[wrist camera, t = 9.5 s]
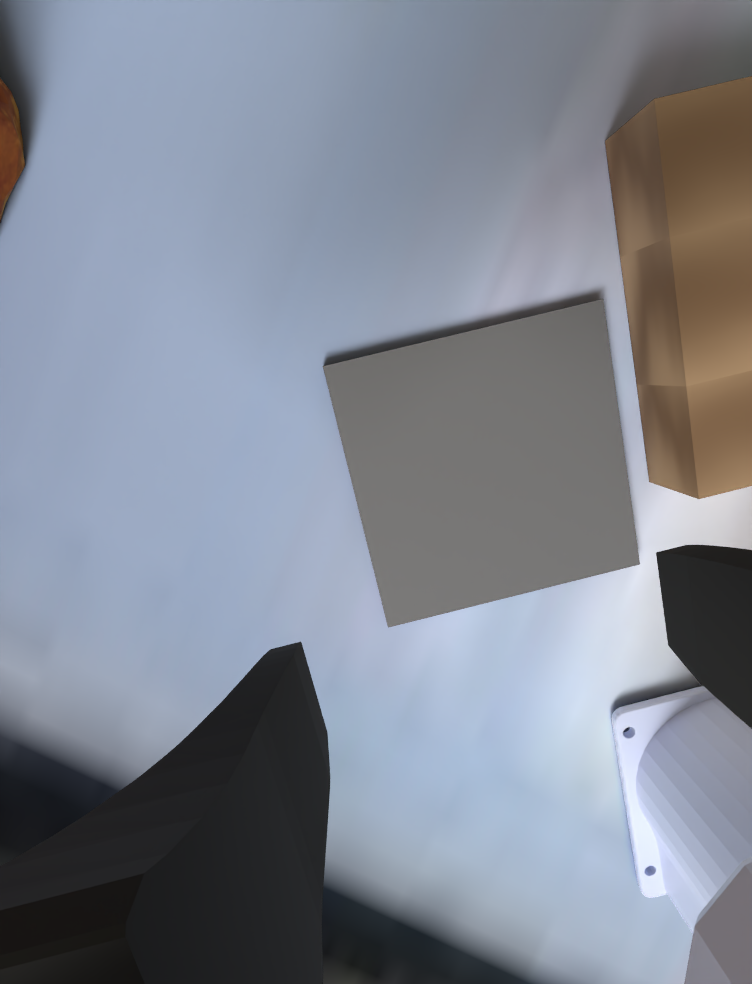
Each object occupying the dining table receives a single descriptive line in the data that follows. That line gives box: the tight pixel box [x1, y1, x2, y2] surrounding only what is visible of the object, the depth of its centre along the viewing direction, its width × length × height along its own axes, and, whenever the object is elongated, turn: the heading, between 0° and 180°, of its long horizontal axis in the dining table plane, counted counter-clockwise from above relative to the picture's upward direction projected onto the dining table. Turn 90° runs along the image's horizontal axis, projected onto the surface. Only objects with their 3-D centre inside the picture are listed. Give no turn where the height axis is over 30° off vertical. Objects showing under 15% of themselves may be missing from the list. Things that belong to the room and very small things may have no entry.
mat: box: [323, 299, 640, 627], centre depth 21 cm, size 10×10×1 cm
